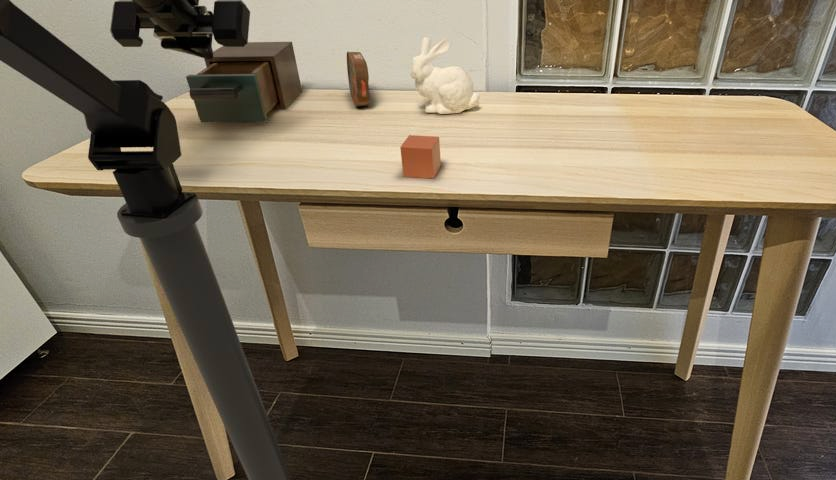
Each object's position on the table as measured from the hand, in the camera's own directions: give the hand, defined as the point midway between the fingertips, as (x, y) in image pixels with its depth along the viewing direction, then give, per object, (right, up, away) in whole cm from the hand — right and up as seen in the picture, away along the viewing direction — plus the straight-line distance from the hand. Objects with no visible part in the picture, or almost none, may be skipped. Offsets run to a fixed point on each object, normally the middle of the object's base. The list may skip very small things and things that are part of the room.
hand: (210, 56), depth 85 cm
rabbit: (+36, -4, +15) cm, 39 cm away
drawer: (0, -7, +10) cm, 12 cm away
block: (+35, -20, -8) cm, 41 cm away
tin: (+20, -1, +20) cm, 28 cm away
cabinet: (0, 0, +20) cm, 20 cm away
